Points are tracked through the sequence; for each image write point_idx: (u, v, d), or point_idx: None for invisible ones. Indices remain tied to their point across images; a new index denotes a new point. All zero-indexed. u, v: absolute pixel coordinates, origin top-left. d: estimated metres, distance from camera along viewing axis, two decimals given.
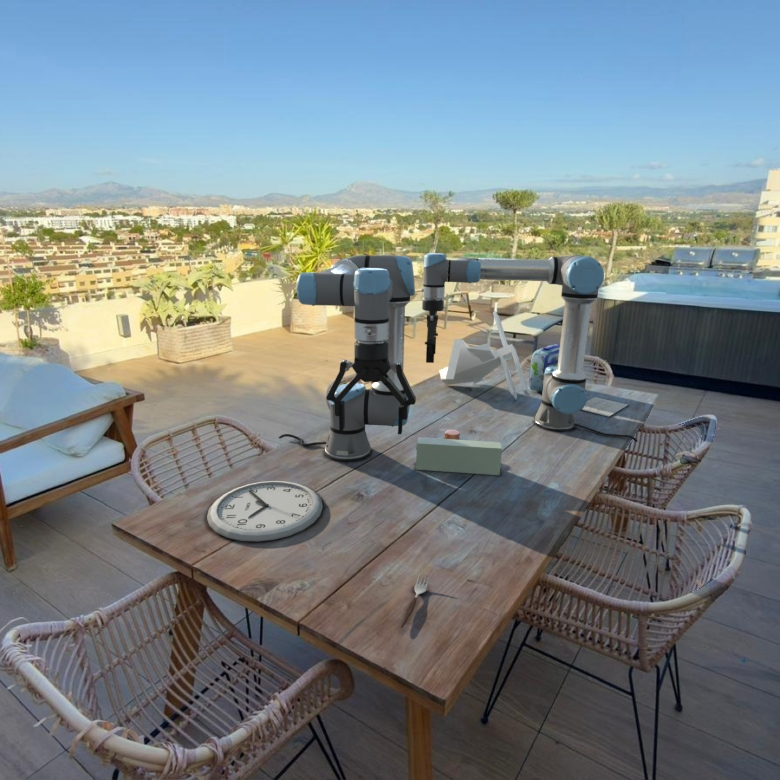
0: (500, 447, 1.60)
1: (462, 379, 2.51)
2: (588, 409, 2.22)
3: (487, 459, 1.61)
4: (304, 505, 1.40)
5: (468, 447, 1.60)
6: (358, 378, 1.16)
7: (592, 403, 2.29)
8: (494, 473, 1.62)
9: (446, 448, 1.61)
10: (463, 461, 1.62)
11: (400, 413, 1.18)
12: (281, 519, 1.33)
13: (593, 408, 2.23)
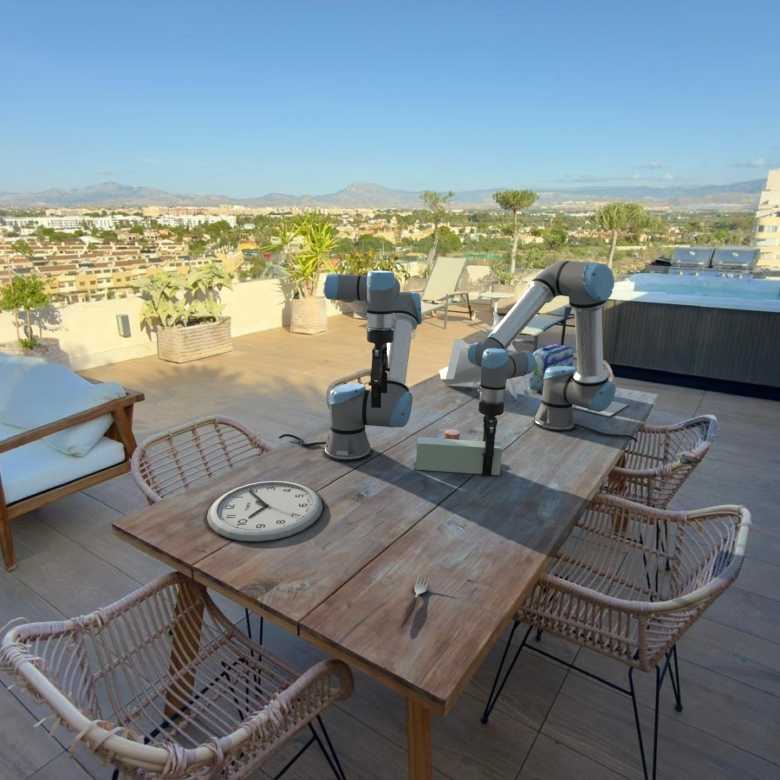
0: (500, 447, 1.60)
1: (462, 379, 2.51)
2: (588, 409, 2.22)
3: None
4: (304, 505, 1.40)
5: (468, 447, 1.60)
6: None
7: None
8: (494, 473, 1.62)
9: (446, 448, 1.61)
10: (463, 461, 1.62)
11: (371, 389, 1.44)
12: (281, 519, 1.33)
13: None
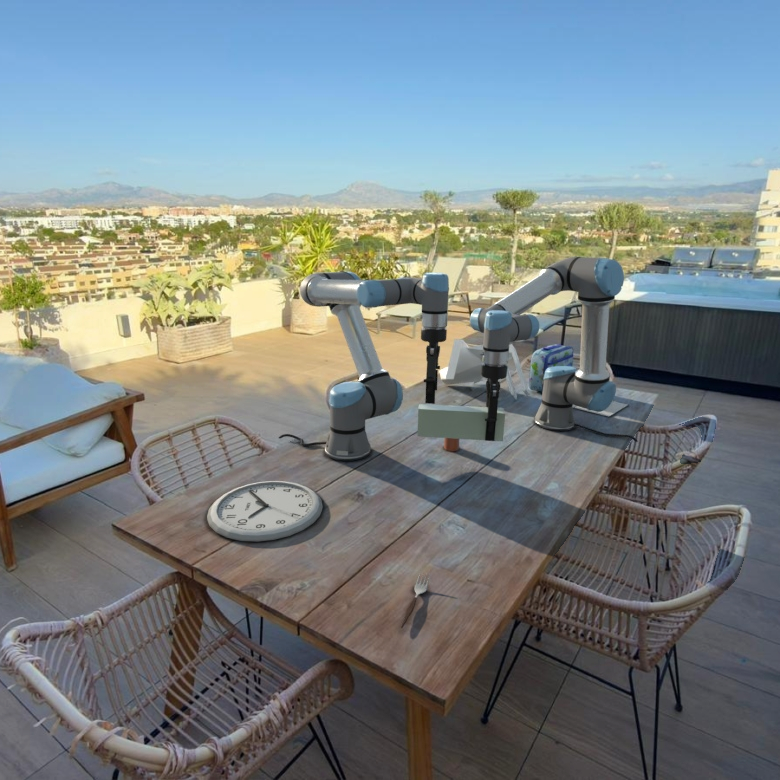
0: (503, 412, 1.57)
1: (462, 379, 2.51)
2: None
3: None
4: (304, 505, 1.40)
5: (470, 413, 1.57)
6: None
7: None
8: (497, 439, 1.59)
9: (448, 414, 1.58)
10: (466, 427, 1.59)
11: None
12: (281, 519, 1.33)
13: None
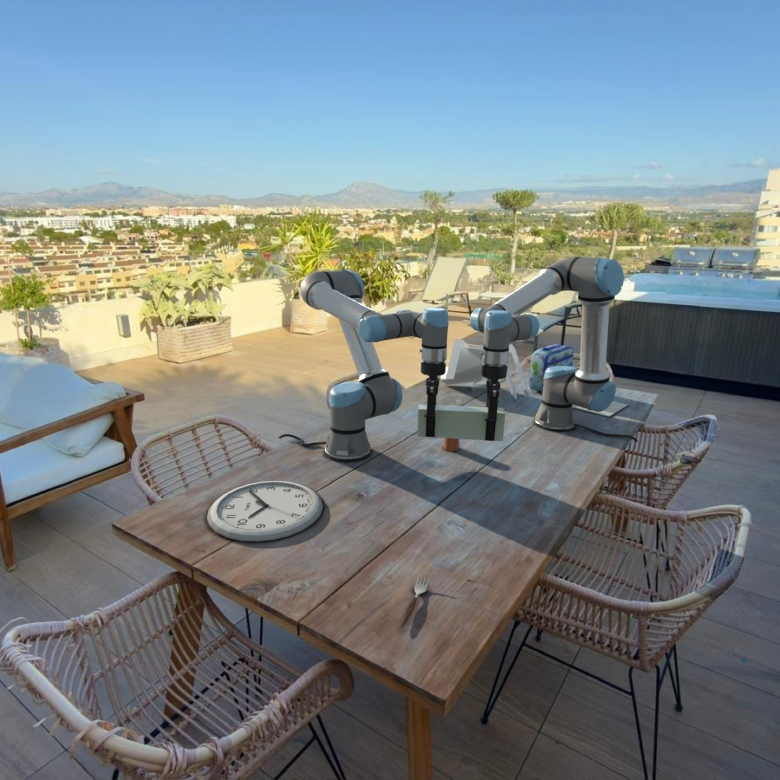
0: (503, 412, 1.57)
1: (462, 379, 2.51)
2: None
3: None
4: (304, 505, 1.40)
5: (470, 413, 1.57)
6: None
7: None
8: (497, 439, 1.59)
9: (448, 414, 1.58)
10: (466, 427, 1.59)
11: (426, 420, 1.59)
12: (281, 519, 1.33)
13: None
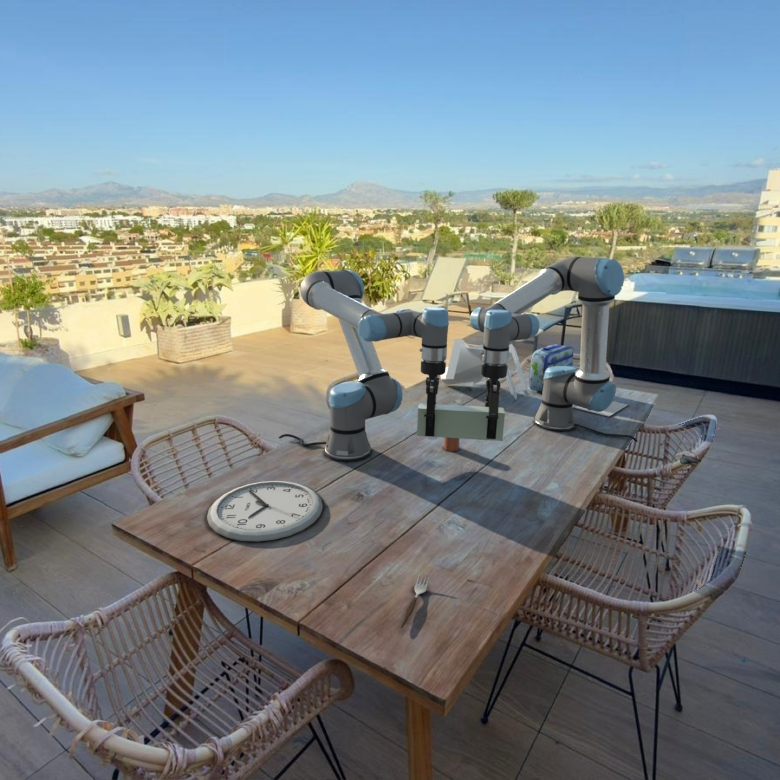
0: (503, 412, 1.57)
1: (462, 379, 2.51)
2: None
3: None
4: (304, 505, 1.40)
5: (470, 412, 1.57)
6: None
7: None
8: (497, 439, 1.59)
9: (448, 413, 1.58)
10: (465, 427, 1.59)
11: None
12: (281, 519, 1.33)
13: None
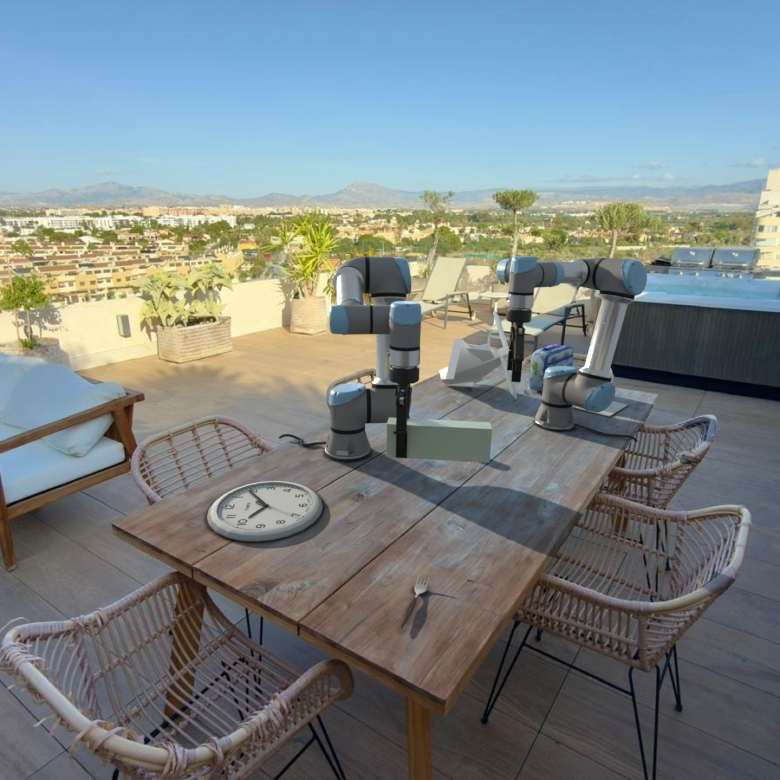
0: (490, 427, 1.29)
1: (462, 379, 2.51)
2: None
3: (473, 442, 1.30)
4: (304, 505, 1.40)
5: (450, 428, 1.29)
6: None
7: None
8: (483, 460, 1.31)
9: (423, 430, 1.30)
10: (444, 446, 1.31)
11: (396, 438, 1.31)
12: (281, 519, 1.33)
13: None
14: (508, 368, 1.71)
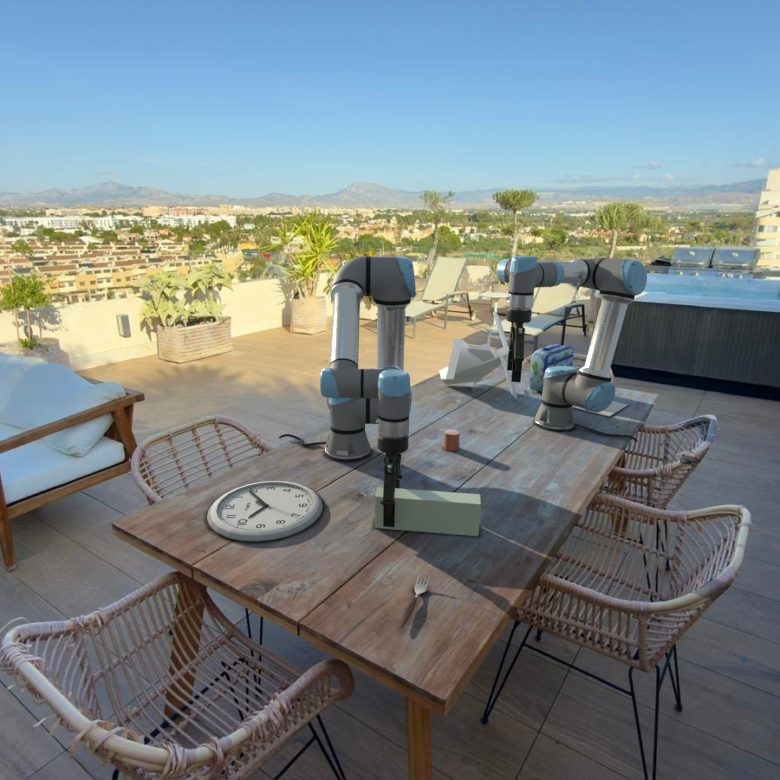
0: (479, 502, 1.28)
1: (462, 379, 2.51)
2: None
3: (462, 516, 1.29)
4: (304, 505, 1.40)
5: (439, 502, 1.28)
6: None
7: None
8: (471, 534, 1.30)
9: (412, 503, 1.29)
10: (433, 519, 1.30)
11: None
12: (281, 519, 1.33)
13: None
14: (508, 368, 1.71)
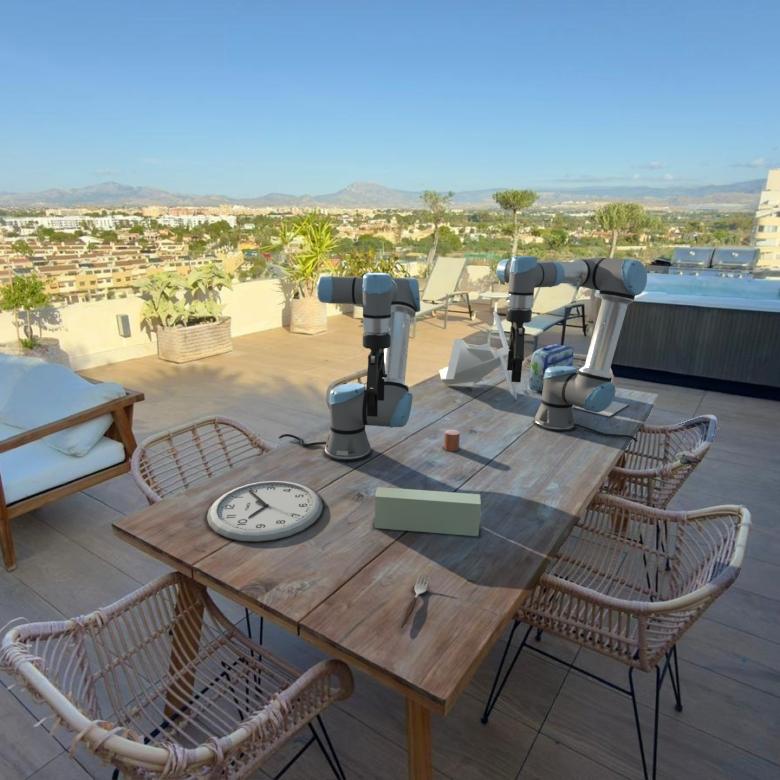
0: (479, 502, 1.28)
1: (462, 379, 2.51)
2: None
3: (462, 516, 1.29)
4: (304, 505, 1.40)
5: (439, 502, 1.28)
6: None
7: None
8: (471, 534, 1.30)
9: (412, 503, 1.29)
10: (433, 519, 1.30)
11: (367, 397, 1.38)
12: (281, 519, 1.33)
13: None
14: (508, 368, 1.71)
